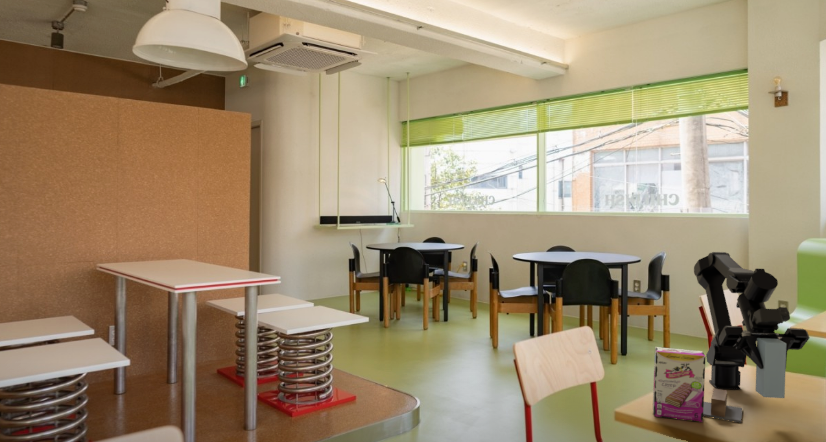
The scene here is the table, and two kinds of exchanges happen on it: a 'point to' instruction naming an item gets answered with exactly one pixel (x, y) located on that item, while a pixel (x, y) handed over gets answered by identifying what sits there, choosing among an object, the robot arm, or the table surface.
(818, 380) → the table surface
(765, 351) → the block
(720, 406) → the ridge
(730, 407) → the mat
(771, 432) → the table surface
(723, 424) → the table surface
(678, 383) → the candy bar box
